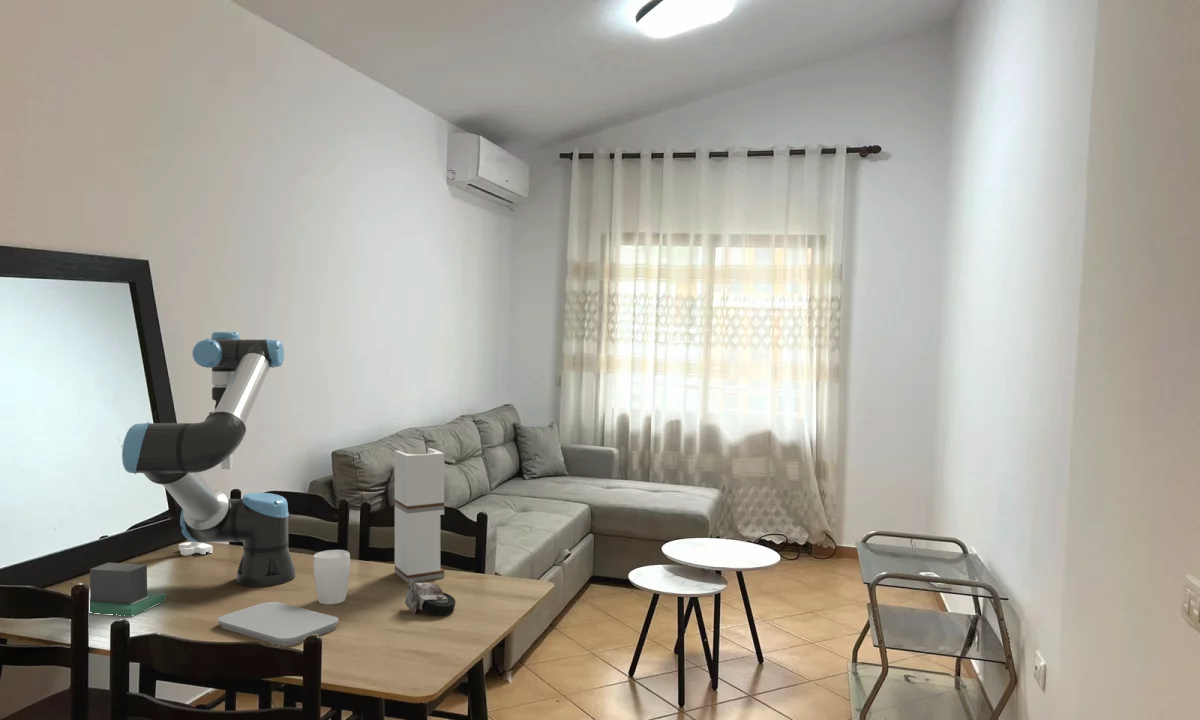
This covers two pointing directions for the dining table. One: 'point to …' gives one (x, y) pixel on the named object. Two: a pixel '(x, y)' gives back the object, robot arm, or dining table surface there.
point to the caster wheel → (429, 599)
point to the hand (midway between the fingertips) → (227, 468)
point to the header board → (127, 605)
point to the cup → (331, 575)
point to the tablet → (278, 623)
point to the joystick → (195, 548)
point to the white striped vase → (418, 514)
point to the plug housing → (118, 583)
